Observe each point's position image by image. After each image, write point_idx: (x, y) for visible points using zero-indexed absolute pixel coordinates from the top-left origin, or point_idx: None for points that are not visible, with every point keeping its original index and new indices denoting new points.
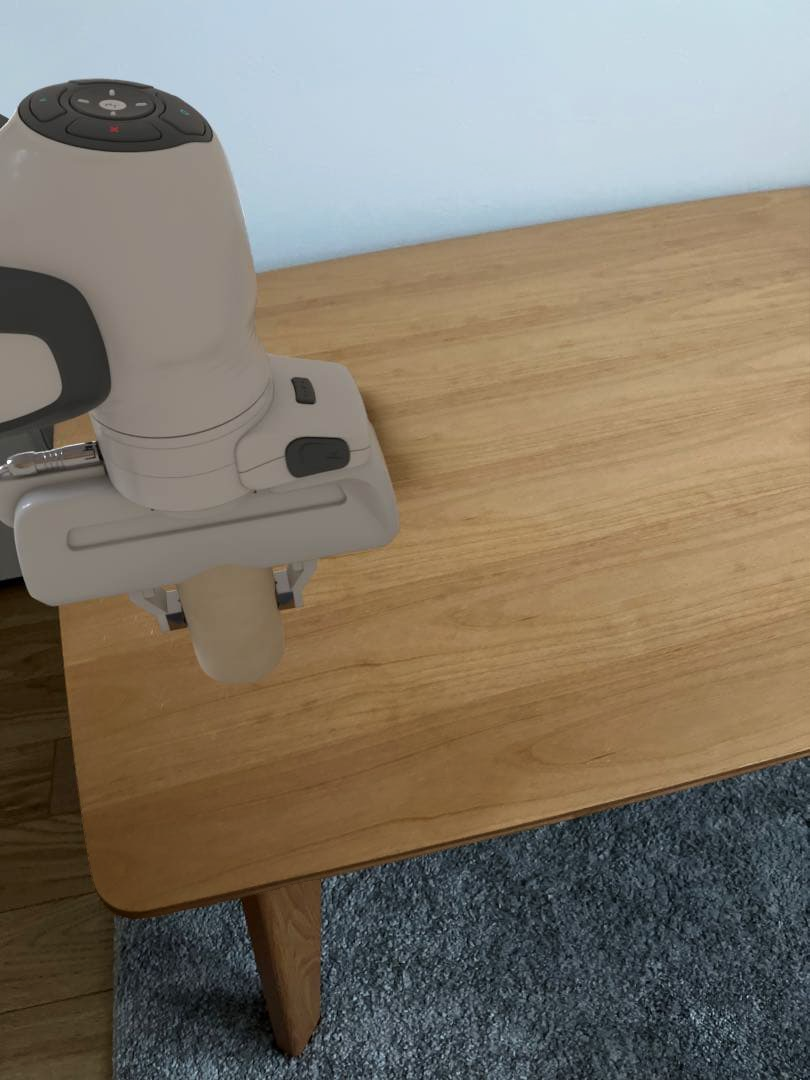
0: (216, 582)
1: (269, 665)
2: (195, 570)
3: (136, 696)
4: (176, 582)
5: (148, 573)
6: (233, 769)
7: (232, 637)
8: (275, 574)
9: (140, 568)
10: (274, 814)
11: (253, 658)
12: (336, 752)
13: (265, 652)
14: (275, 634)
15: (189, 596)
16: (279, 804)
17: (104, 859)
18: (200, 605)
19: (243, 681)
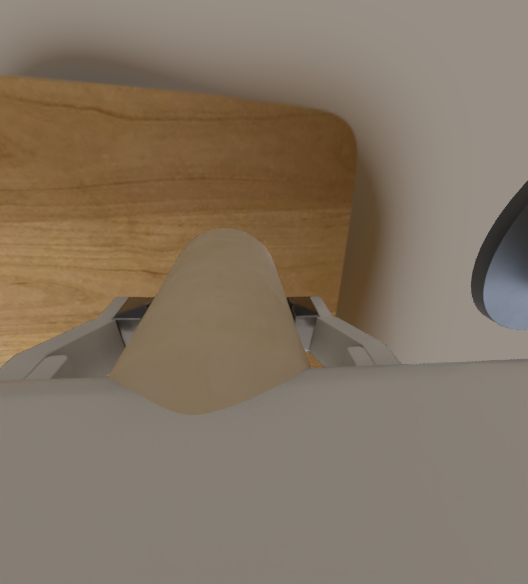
0: (223, 360)
1: (194, 239)
2: (274, 404)
3: (306, 284)
4: (320, 373)
5: (405, 417)
6: (255, 212)
7: (225, 260)
8: None
9: (436, 441)
10: (230, 161)
11: (207, 241)
12: (178, 204)
13: (191, 247)
14: (172, 267)
15: (290, 335)
16: (226, 169)
17: (353, 163)
18: (270, 313)
19: (228, 228)
